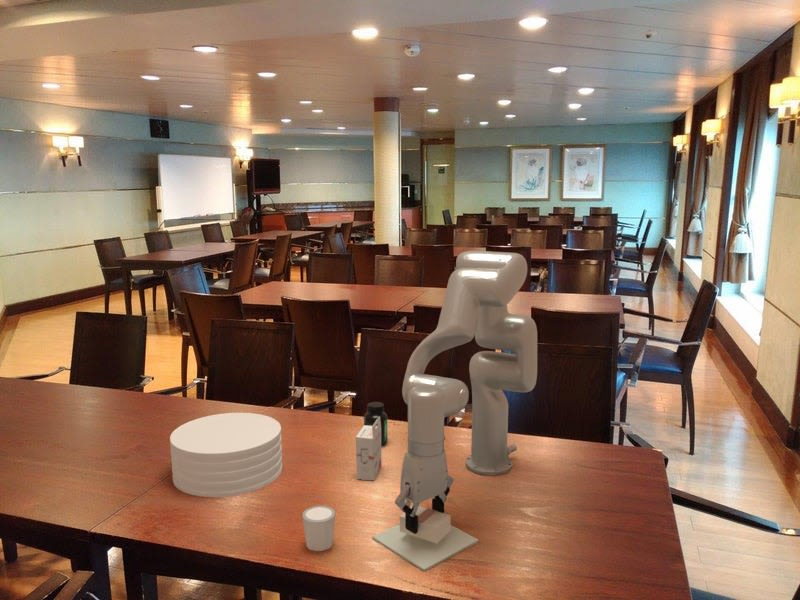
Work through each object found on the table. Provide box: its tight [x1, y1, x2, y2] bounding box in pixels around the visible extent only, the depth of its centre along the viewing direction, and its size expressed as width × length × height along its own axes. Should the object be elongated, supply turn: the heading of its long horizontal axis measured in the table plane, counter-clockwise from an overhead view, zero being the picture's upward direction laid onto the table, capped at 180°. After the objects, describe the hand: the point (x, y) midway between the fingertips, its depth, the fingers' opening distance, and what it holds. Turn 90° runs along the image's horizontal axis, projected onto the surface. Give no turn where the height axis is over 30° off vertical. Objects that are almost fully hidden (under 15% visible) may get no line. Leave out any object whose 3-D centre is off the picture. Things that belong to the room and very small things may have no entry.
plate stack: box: [169, 412, 283, 498], centre depth 168 cm, size 28×28×12 cm
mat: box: [371, 523, 479, 573], centre depth 137 cm, size 16×16×1 cm
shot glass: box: [302, 505, 336, 552], centre depth 135 cm, size 7×7×7 cm
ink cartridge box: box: [355, 416, 382, 481], centre depth 167 cm, size 9×5×15 cm, turn 168°
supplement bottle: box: [363, 401, 388, 448], centre depth 187 cm, size 7×7×12 cm
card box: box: [399, 505, 452, 544], centre depth 136 cm, size 9×6×4 cm, turn 58°
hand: (425, 524), depth 136 cm, fingers closed on card box, 7 cm apart
